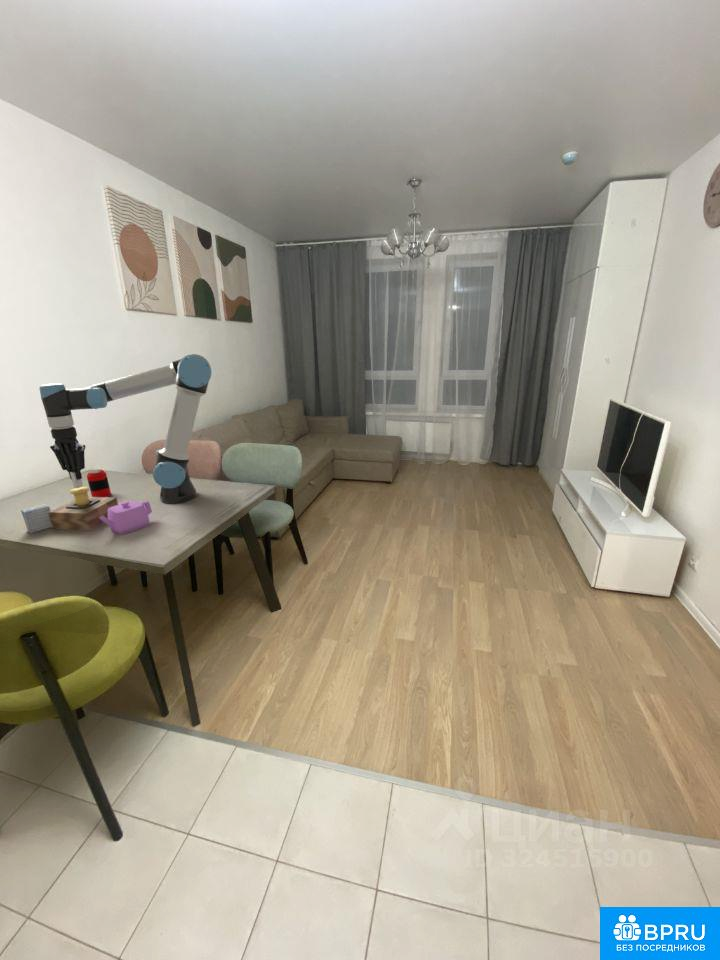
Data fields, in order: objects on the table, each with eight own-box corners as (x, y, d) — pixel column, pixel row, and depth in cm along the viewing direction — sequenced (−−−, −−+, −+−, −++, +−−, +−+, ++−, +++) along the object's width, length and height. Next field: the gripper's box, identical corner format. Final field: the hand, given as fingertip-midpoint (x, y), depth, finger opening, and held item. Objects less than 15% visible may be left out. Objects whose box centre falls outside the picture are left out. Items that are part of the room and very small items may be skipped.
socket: (120, 513, 166) (116, 496, 163) (90, 530, 151) (85, 512, 148) (85, 512, 168) (80, 495, 165) (53, 528, 153) (47, 510, 150)
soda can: (109, 497, 184) (103, 472, 180) (90, 500, 181) (83, 474, 177) (112, 492, 190) (106, 468, 186) (94, 494, 188) (87, 470, 184)
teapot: (110, 540, 143) (103, 514, 140) (98, 532, 149) (91, 507, 146) (159, 522, 157) (154, 498, 153) (146, 516, 163) (141, 492, 159)
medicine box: (52, 523, 158) (45, 503, 155) (55, 526, 155) (49, 505, 152) (27, 530, 152) (20, 509, 149) (30, 533, 149) (23, 512, 146)
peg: (97, 506, 160) (92, 486, 157) (85, 512, 154) (80, 492, 152) (83, 506, 161) (78, 486, 158) (71, 512, 155) (66, 491, 152)
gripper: (86, 425, 149) (101, 484, 157) (55, 424, 151) (71, 483, 159) (70, 429, 142) (86, 491, 150) (37, 429, 144) (55, 490, 152)
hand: (78, 487), depth 155 cm, fingers closed
